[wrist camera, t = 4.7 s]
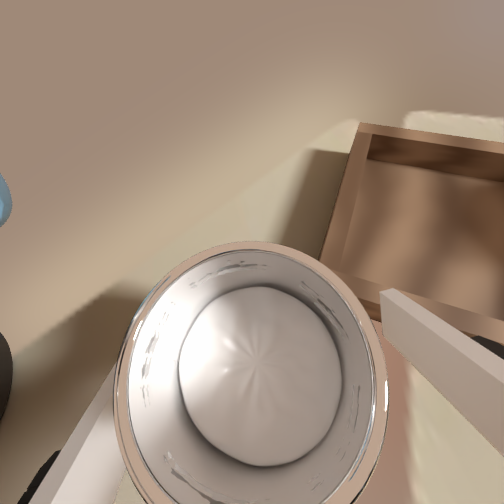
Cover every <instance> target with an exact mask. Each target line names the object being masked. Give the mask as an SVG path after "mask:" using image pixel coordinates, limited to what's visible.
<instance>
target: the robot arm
mask: <svg viewBox="0 0 504 504" xmlns="http://www.w3.org/2000/svg"><path fill="white" fill-rule="evenodd" d="M11 209H12V199H11V194H10V190H9V188H8V186H7V184H6V182H5V180H4V178H3V177H2V175H1V174H0V227H1V226H2V225H3V224H4V223H5V222H6V221H7V219H8V218H9V216H10V213H11ZM379 293H380V306H381V320H382V333H383V336H384V337H385V338H386V339H387V340H388V341H389V342H390V343H391V344H392V345H393V346H394V347H395V348H396V349H397V350H398V351H399V352H400V353H401V354H402V355H403V356H404V357H405V358H406V359H407V360H408V361H409V362H410V363H411V364H412V365H413V366H414V367H415V368H416V369H417V370H418V371H419V372H420V373H421V374H422V375H423V376H424V377H425V378H426V379H427V380H428V381H429V382H430V383H431V384H432V385H433V386H434V387H435V388H436V389H437V390H438V391H439V392H440V393H441V394H442V395H443V396H444V397H445V398H446V399H447V400H448V401H449V402H450V403H451V404H452V405H453V406H454V407H455V408H456V409H457V410H458V411H459V412H460V413H461V414H462V415H463V416H464V417H465V418H466V419H467V420H468V421H469V422H470V423H471V424H472V425H473V426H474V427H475V428H476V429H477V430H478V432H479V433H480V434H481V435H482V436H483V437H484V438H485V439H486V440H487V441H488V442H489V443H490V444H491V445H492V446H493V447H494V448H495V449H496V450H497V451H498V452H499V453H500V454H501V455H502V456H503V457H504V346H503V345H501V344H499V343H498V342H495V341H492V340H490V339H487V338H484V337H482V336H479V335H478V336H474V337H470V338H469V337H468V336H466V335H465V334H463V333H462V332H460V331H459V330H457V329H456V328H454V327H453V326H451V325H449V324H448V323H446V322H445V321H443V320H442V319H440V318H439V317H437V316H436V315H434V314H433V313H431V312H430V311H428V310H427V309H425V308H423V307H422V306H420V305H419V304H417V303H416V302H414V301H413V300H411V299H410V298H408V297H407V296H405V295H404V294H402V293H401V292H399V291H397V290H396V289H394V288H391V289H388V290H384V291H380V292H379ZM116 363H117V362H116ZM116 363H115V365H114V366H113V368H112V369H111V371H110V373H109V374H108V376H107V378H106V379H105V381H104V382H103V384H102V386H101V387H100V389H99V390H98V392H97V394H96V395H95V397H94V399H93V400H92V402H91V403H90V405H89V407H88V408H87V410H86V411H85V413H84V415H83V416H82V418H81V420H80V421H79V423H78V424H77V426H76V428H75V429H74V431H73V432H72V434H71V436H70V437H69V439H68V441H67V442H66V444H65V445H64V447H63V449H62V450H59V451H56V452H55V453H54V454H53V455H52V456H51V457H50V458H49V459H48V461H47V462H46V463H45V464H44V465H43V466H42V467H41V468H40V470H39V471H38V473H37V474H36V476H35V477H34V479H33V480H32V482H31V483H30V485H29V486H28V488H27V492H24V494H23V496H22V497H21V499H20V500H19V502H18V503H17V504H113V503H114V500H115V497H116V494H117V492H118V489H119V486H120V483H121V480H122V478H123V475H124V472H125V469H126V467H125V464H124V461H123V459H122V456H121V452H120V449H119V445H118V441H117V437H116V432H115V425H114V417H113V383H114V375H115V369H116ZM11 381H12V356H11V352H10V348H9V345H8V343H7V341H6V339H5V338H4V336H3V335H2V334H1V333H0V419H1V417H2V414H3V412H4V409H5V406H6V403H7V400H8V396H9V392H10V387H11Z"/></svg>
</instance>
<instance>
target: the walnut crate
mask: <svg viewBox="0 0 504 504" xmlns="http://www.w3.org/2000/svg"><path fill="white" fill-rule="evenodd" d="M318 261H319V262H321V263H322V264H324V265H325V266H327V267H328V268H329V269H330V270H332V271H333V272H334V273H335V274H336V275H337V276H339V277H340V278H341V279H342V280H343V281H344V282H345V283H346V285H347V286H348V287H349V288H350V289H351V290H352V291H353V293H354V294H355V295H356V297H357V298H358V299H359V301H360V302H361V304H362V305H363V307H364V309H365V310H366V312H367V314H368V315H369V317H370V319H373V320H376V321H379V322H381V323H382V320H381V306H380V293H379V292H380V291H384V290H388V289H391V288H394V289H396V290H397V291H399V292H401V293H402V294H404V295H405V296H407V297H408V298H410V299H411V300H413V301H414V302H416V303H417V304H419V305H420V306H422V307H423V308H425V309H427V310H428V311H430V312H431V313H433V314H434V315H436V316H437V317H439V318H440V319H442V320H443V321H445V322H446V323H448V324H449V325H451V326H453V327H454V328H456V329H457V330H459V331H460V332H462V333H463V334H465V335H466V336H468V337H469V338H470V337H474V336H478V335H479V336H482V337H484V338H487V339H490V340H492V341H495V342H498V343H499V344H501V345H503V346H504V143H501V142H494V141H487V140H480V139H473V138H466V137H459V136H452V135H445V134H438V133H431V132H424V131H417V130H410V129H403V128H396V127H389V126H381V125H375V124H368V123H361V122H360V124H359V127H358V130H357V133H356V136H355V139H354V142H353V145H352V148H351V151H350V154H349V157H348V160H347V164H346V167H345V171H344V174H343V178H342V181H341V184H340V188H339V191H338V195H337V198H336V202H335V205H334V208H333V212H332V215H331V219H330V222H329V226H328V229H327V232H326V236H325V239H324V243H323V246H322V250H321V253H320V256H319V260H318Z"/></svg>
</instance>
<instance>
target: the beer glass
mask: <svg viewBox="0 0 504 504" xmlns="http://www.w3.org/2000/svg"><path fill="white" fill-rule="evenodd" d="M388 415H389V383H388V374H387V368H386V362H385V358H384V354H383V350H382V347H381V343H380V340H379V338H378V335H377V333H376V330H375V328H374V326H373V323H372V321H371V319H370V317H369V315H368V314H367V312H366V310H365V309H364V307H363V305H362V304H361V302H360V301H359V299H358V298H357V297H356V295H355V294H354V293H353V291H352V290H351V289H350V288H349V287H348V286H347V285H346V283H345V282H344V281H343V280H342V279H341V278H340V277H339V276H337V275H336V274H335V273H334V272H333V271H332V270H330V269H329V268H328V267H327V266H325V265H324V264H322V263H321V262H319V261H318V260H316V259H314V258H313V257H311V256H309V255H307V254H305V253H303V252H301V251H298V250H296V249H293V248H290V247H287V246H284V245H280V244H275V243H269V242H260V241H243V242H234V243H228V244H224V245H219V246H216V247H213V248H210V249H207V250H205V251H203V252H200V253H198V254H196V255H194V256H192V257H190V258H189V259H187V260H185V261H184V262H182V263H181V264H179V265H178V266H177V267H175V268H174V269H173V270H171V271H170V272H169V273H168V274H167V275H166V276H164V277H163V278H162V279H161V280H160V281H159V282H158V283H157V284H156V286H155V287H154V288H153V289H152V290H151V291H150V293H149V294H148V295H147V296H146V298H145V299H144V301H143V302H142V303H141V305H140V307H139V308H138V310H137V311H136V313H135V315H134V317H133V319H132V321H131V323H130V325H129V327H128V329H127V331H126V334H125V336H124V339H123V342H122V345H121V348H120V351H119V355H118V359H117V363H116V369H115V375H114V383H113V417H114V425H115V432H116V437H117V441H118V445H119V449H120V452H121V456H122V459H123V461H124V464H125V467H126V469H127V471H128V473H129V476H130V478H131V480H132V482H133V484H134V485H135V487H136V489H137V491H138V492H139V494H140V495H141V497H142V498H143V500H144V501H145V502H146V504H355V502H356V501H357V500H358V498H359V497H360V495H361V494H362V492H363V491H364V489H365V487H366V486H367V484H368V482H369V480H370V478H371V476H372V474H373V472H374V469H375V467H376V465H377V462H378V460H379V457H380V454H381V451H382V447H383V444H384V440H385V435H386V429H387V423H388Z"/></svg>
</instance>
